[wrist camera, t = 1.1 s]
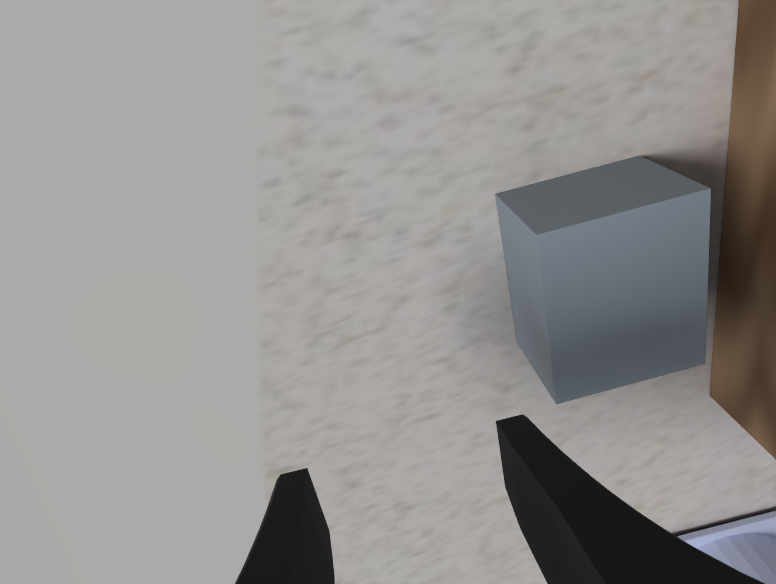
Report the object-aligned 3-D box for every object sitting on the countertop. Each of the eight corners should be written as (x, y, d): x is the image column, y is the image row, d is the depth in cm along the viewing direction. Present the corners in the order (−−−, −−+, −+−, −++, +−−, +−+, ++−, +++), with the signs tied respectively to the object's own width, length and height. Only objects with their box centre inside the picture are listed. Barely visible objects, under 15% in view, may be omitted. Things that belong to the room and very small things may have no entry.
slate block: (641, 306, 23) (705, 363, 19) (515, 340, 22) (556, 403, 19) (637, 154, 20) (711, 188, 16) (493, 192, 20) (536, 235, 16)
